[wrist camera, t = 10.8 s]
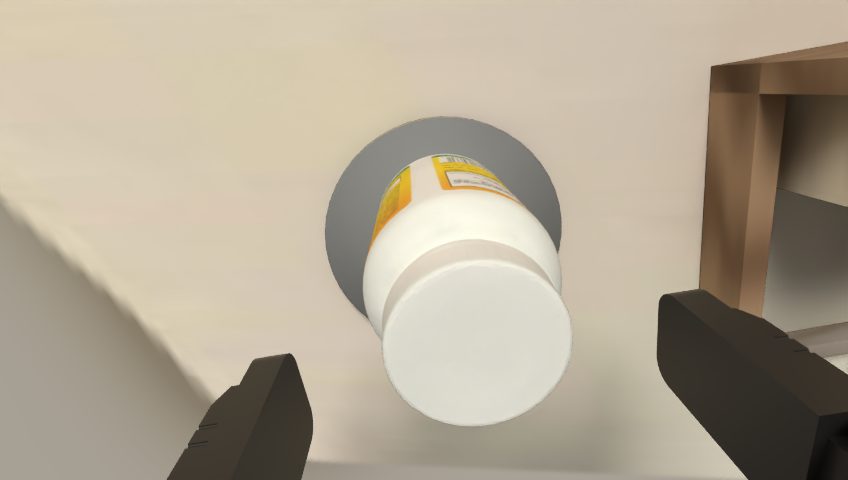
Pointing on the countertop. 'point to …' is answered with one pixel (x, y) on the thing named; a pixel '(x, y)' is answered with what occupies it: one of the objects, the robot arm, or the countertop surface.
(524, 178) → the coaster
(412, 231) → the supplement bottle
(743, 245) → the rack
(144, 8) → the countertop surface
